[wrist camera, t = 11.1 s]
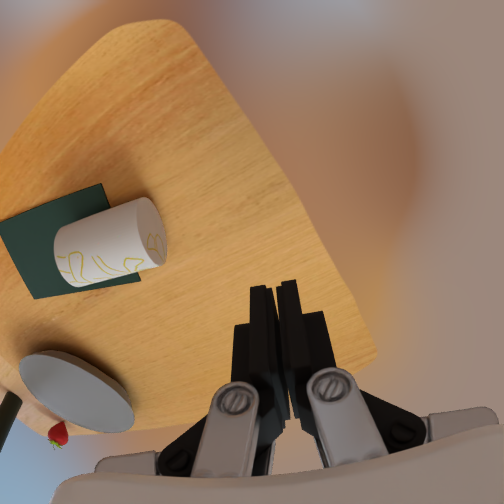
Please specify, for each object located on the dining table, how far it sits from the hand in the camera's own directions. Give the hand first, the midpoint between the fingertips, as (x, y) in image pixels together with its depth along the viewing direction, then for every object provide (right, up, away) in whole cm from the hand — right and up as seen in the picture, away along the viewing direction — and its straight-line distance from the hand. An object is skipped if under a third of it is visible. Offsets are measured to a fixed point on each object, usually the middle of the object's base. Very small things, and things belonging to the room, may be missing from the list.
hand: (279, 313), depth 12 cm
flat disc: (-39, -27, +47) cm, 66 cm away
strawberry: (-55, -47, +58) cm, 93 cm away
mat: (-30, +3, +30) cm, 42 cm away
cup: (-12, +5, +24) cm, 27 cm away
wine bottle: (-71, -41, +55) cm, 99 cm away
